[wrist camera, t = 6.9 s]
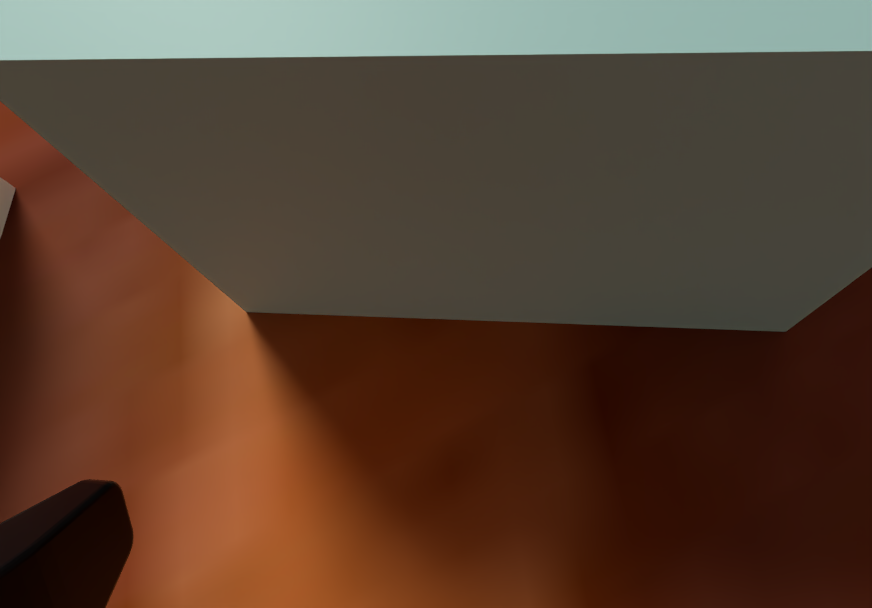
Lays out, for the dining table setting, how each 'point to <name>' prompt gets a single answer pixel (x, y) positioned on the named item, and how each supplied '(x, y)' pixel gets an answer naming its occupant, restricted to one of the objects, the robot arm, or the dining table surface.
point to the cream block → (5, 201)
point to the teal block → (474, 150)
